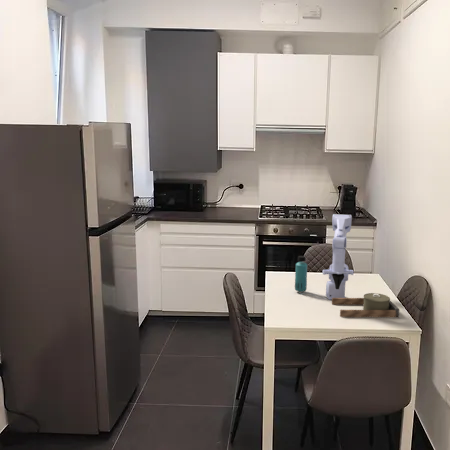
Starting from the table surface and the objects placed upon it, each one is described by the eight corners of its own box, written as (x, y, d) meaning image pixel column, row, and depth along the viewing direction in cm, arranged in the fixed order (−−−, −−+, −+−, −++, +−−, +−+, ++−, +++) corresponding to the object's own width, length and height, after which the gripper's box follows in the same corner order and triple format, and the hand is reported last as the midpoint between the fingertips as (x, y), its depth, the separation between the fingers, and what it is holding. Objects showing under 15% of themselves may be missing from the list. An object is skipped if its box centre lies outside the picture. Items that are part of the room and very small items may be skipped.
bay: (340, 316, 209) (341, 308, 209) (331, 303, 227) (332, 295, 226) (398, 317, 209) (399, 309, 209) (385, 303, 227) (385, 296, 226)
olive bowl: (363, 313, 214) (364, 300, 212) (362, 305, 225) (363, 292, 224) (390, 316, 211) (391, 302, 209) (388, 307, 222) (389, 294, 221)
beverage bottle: (305, 290, 247) (306, 254, 244) (307, 294, 241) (309, 257, 237) (293, 290, 247) (294, 254, 244) (295, 294, 241) (296, 257, 237)
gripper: (325, 263, 214) (324, 291, 217) (355, 263, 214) (354, 291, 217) (322, 259, 221) (321, 286, 224) (351, 260, 221) (350, 286, 224)
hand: (337, 288), depth 221 cm, fingers closed
